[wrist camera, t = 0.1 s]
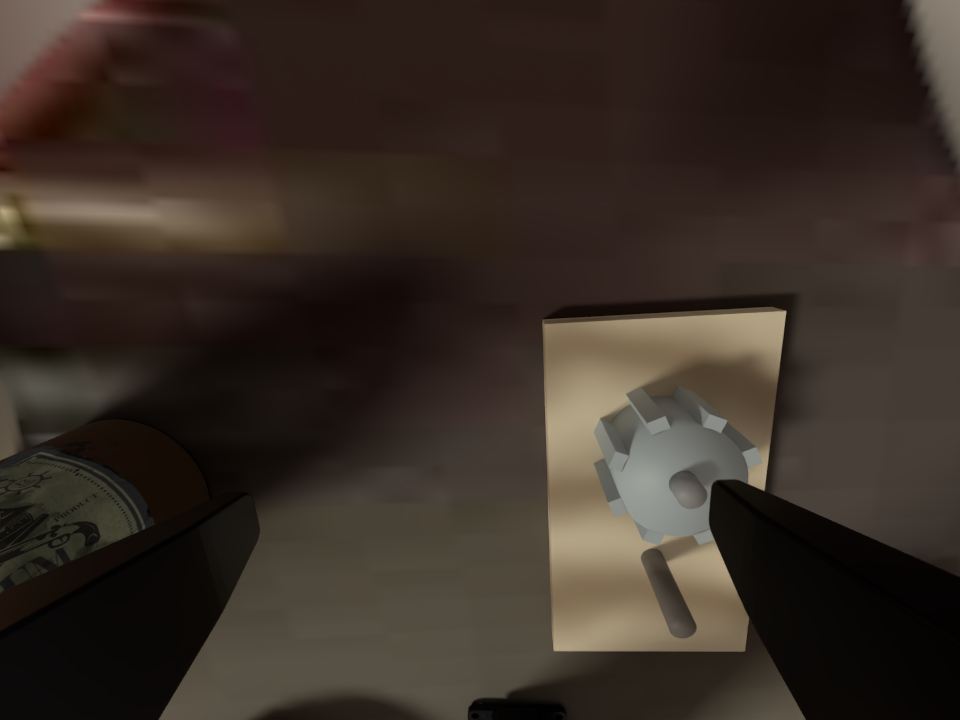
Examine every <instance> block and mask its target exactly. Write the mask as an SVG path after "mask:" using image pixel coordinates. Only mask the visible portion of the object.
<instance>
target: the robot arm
mask: <svg viewBox="0 0 960 720" xmlns="http://www.w3.org/2000/svg"><path fill="white" fill-rule="evenodd" d="M709 527H710V530H711V533H712V535H713V538H714V540H715V542H716V545H717V547H718V549H719V552H720V554H721V556H722V559H723V561H724V563H725V566H726V568H727V570H728V573H729V575H730V577H731V580H732V582H733V584H734V587H735V589H736V591H737V594H738V596H739V598H740V600H741V602H742V605H743V607H744V609H745V611H746V613H747V615H748V617H749V618H750V620H751V622H752V624H753V626H754V628H755V629H756V631H757V633H758V635H759V637H760V638H761V640H762V642H763V644H764V646H765V647H766V649H767V651H768V653H769V655H770V656H771V658H772V660H773V662H774V663H775V665H776V667H777V669H778V671H779V672H780V674H781V676H782V678H783V680H784V681H785V683H786V685H787V687H788V689H789V690H790V692H791V694H792V696H793V697H794V699H795V701H796V703H797V705H798V706H799V708H800V710H801V712H802V714H803V715H804V717H805V719H806V720H960V577H958V576H956V575H954V574H952V573H949V572H947V571H945V570H943V569H940V568H938V567H936V566H933V565H931V564H929V563H927V562H924V561H922V560H920V559H918V558H915V557H913V556H911V555H908V554H906V553H904V552H902V551H899V550H897V549H895V548H893V547H890V546H888V545H886V544H883V543H881V542H879V541H877V540H874V539H872V538H870V537H868V536H865V535H863V534H861V533H859V532H856V531H854V530H852V529H849V528H847V527H845V526H843V525H840V524H838V523H836V522H834V521H831V520H829V519H827V518H824V517H822V516H820V515H818V514H815V513H813V512H811V511H809V510H806V509H804V508H802V507H799V506H797V505H795V504H793V503H790V502H788V501H786V500H784V499H781V498H779V497H777V496H775V495H772V494H770V493H768V492H765V491H763V490H761V489H759V488H756V487H754V486H752V485H750V484H747V483H745V482H743V481H740V480H737V479H720V480H715V481H714V482H713V484H712V486H711V495H710V507H709ZM259 533H260V527H259V522H258V518H257V514H256V510H255V505H254V501H253V498H252V496H251V495H250V494H249V493H247V492H230V493H226V494H224V495H221V496H219V497H217V498H214V499H212V500H210V501H208V502H205V503H203V504H201V505H198V506H196V507H194V508H191V509H189V510H187V511H185V512H182V513H180V514H178V515H175V516H173V517H171V518H169V519H166V520H164V521H162V522H159V523H157V524H155V525H153V526H150V527H148V528H146V529H143V530H141V531H139V532H137V533H134V534H132V535H130V536H127V537H125V538H123V539H121V540H118V541H116V542H114V543H111V544H109V545H107V546H105V547H102V548H100V549H98V550H95V551H93V552H91V553H89V554H86V555H84V556H82V557H79V558H77V559H75V560H73V561H70V562H68V563H66V564H63V565H61V566H59V567H57V568H54V569H52V570H50V571H47V572H45V573H43V574H41V575H38V576H36V577H34V578H31V579H29V580H27V581H25V582H22V583H20V584H18V585H15V586H13V587H11V588H9V589H6V590H4V591H2V592H1V593H0V720H159V718H160V716H161V715H162V713H163V711H164V710H165V708H166V706H167V705H168V703H169V701H170V700H171V698H172V696H173V695H174V693H175V691H176V690H177V688H178V686H179V685H180V683H181V681H182V680H183V678H184V676H185V675H186V673H187V671H188V670H189V668H190V666H191V665H192V663H193V661H194V660H195V658H196V656H197V655H198V653H199V651H200V650H201V648H202V646H203V645H204V643H205V641H206V640H207V638H208V636H209V635H210V633H211V631H212V630H213V628H214V626H215V625H216V623H217V621H218V619H219V618H220V616H221V614H222V612H223V610H224V608H225V606H226V604H227V603H228V601H229V599H230V597H231V594H232V592H233V590H234V588H235V586H236V584H237V582H238V580H239V578H240V576H241V574H242V572H243V570H244V568H245V566H246V563H247V561H248V559H249V557H250V555H251V553H252V551H253V549H254V547H255V545H256V543H257V541H258V538H259ZM468 720H567V715H566V709H565V708H564V707H563V706H559V705H492V704H473V705H471V706H469V708H468Z"/></svg>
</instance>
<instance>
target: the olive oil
mask: <svg viewBox="0 0 960 720" xmlns="http://www.w3.org/2000/svg"><path fill="white" fill-rule="evenodd" d="M208 501H210V498H209V492H208V488H207V485H206V482H205V479H204V477H203V475H202V473H201V471H200V469H199V468H198V466H197V464H196V463H195V462H194V460H193V459H192V458H191V456H190V455H189V454H188V453H187V452H186V451H185V450H184V449H183V448H182V447H181V446H180V445H179V444H178V443H176V442H175V441H174V440H172V439H171V438H170V437H168V436H167V435H165V434H163V433H162V432H160V431H158V430H156V429H154V428H152V427H149V426H147V425H144V424H141V423H138V422H134V421H129V420H120V419H109V420H101V421H97V422H93V423H90V424H87V425H84V426H82V427H79V428H77V429H74V430H72V431H70V432H67V433H65V434H62V435H60V436H58V437H55V438H53V439H51V440H48V441H46V442H43V443H41V444H39V445H36V446H34V447H32V448H29V449H27V450H24V451H22V452H20V453H17V454H15V455H13V456H10V457H8V458H5V459H3V460H1V461H0V593H1V592H2V591H4V590H6V589H9V588H11V587H13V586H15V585H18V584H20V583H22V582H25V581H27V580H29V579H31V578H34V577H36V576H38V575H41V574H43V573H45V572H47V571H50V570H52V569H54V568H57V567H59V566H61V565H63V564H66V563H68V562H70V561H73V560H75V559H77V558H79V557H82V556H84V555H86V554H89V553H91V552H93V551H95V550H98V549H100V548H102V547H105V546H107V545H109V544H111V543H114V542H116V541H118V540H121V539H123V538H125V537H127V536H130V535H132V534H134V533H137V532H139V531H141V530H143V529H146V528H148V527H150V526H153V525H155V524H157V523H159V522H162V521H164V520H166V519H169V518H171V517H173V516H175V515H178V514H180V513H182V512H185V511H187V510H189V509H191V508H194V507H196V506H198V505H201V504H203V503H205V502H208Z"/></svg>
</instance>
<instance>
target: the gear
mask: <svg viewBox="0 0 960 720" xmlns="http://www.w3.org/2000/svg"><path fill="white" fill-rule="evenodd" d="M626 396H627V398H628V401H629V403H630V405H628V406H627V407H625V408H624V409H623V410H622V411H620V412H619V413H618V414H617V415H616V416H615V417H614V419H613V420H612V422H609V421H606V420H603V419H599V421H598V423H597V425H596V428H595V430H594V434H595V437H596V439H597V441H598V444H599V446H600V449H601V451H602V453H603V456H604V459H603V460H600V461H598V462H595V463H594V466H595V469H596V471H597V474H598V477H599V480H600V482H601V485H602V488H603V491H604V493H605V496H606V499H607V501H608V504H609V506H610V508H611V510H612V512H613V514H614V516H615V517H616V516H619V515H621V514H624V513H627V512H628V513H629V514H630V516H631V517H632V518H633V519H634V522H635V524H636V526H637V529H638V531H639V533H640V536H641V538H642V540H643V541H646V542H649V543H652V544H655V545H658V546H659V545H660V543H661V541H662V539H663V538H664V536H665V535H668V536H690V535H694V537H695V539H696V540H697V542H698V544H699V545H701V544H704V543H707V542H710V541H713V540H714V538H713V535H712V533H711V530H710V527H709V507H710V495H711V486H712V484H713V482H714V481H715V480H720V479H737V480H740V481H743V482H745V483H747V484H748V476H749V474H748V468H749V467H752V466H755V465H757V464H760V463H762V461H761V458H760V455H759V453H758V450H757V447H756V446H755V445H754V444H752V443H751V442H750V441H749V440H748V439H747V438H745V437H744V436H743V435H742V434H741V433H740V432H738V431H737V430H736V429H735V428H734V427H733V426H732V425H730V424H729V423H728V422H727V421H728V420H727V419H725V418H724V417H723V416H722V415H721V414H720V413H718V412H717V411H716V410H715V409H714V408H713V407H711V406H710V405H709V404H708V403H707V402H706V401H704V400H703V399H702V398H701V397H700V396H699V395H697V394H696V393H695V392H694V391H692V390H689V389H686V388H683V387H680V386H678V388H677V390H676V392H675V394H674V396H673V397H670V396H654V397H649V396H648V395H647V394H646V393H645V391H644V390H643V389H642V388H639V389H636V390H634V391H632V392H629V393H627V394H626Z"/></svg>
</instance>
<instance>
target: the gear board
mask: <svg viewBox="0 0 960 720" xmlns="http://www.w3.org/2000/svg"><path fill="white" fill-rule="evenodd" d="M785 318H786V311H785V310H781V309H778V308H774V307H758V308H740V309H722V310H704V311H686V312H668V313H650V314H632V315H614V316H596V317H578V318H560V319H542V321H543V353H544V386H545V419H546V452H547V484H548V517H549V550H550V583H551V615H552V638H553V647H554V651H689V652H745V647H746V639H747V630H748V622H749V617H748V615H747V613H746V611H745V609H744V607H743V605H742V602H741V600H740V598H739V596H738V594H737V591H736V589H735V587H734V584H733V582H732V580H731V577H730V575H729V573H728V570H727V568H726V566H725V563H724V561H723V559H722V556H721V554H720V552H719V549H718V547H717V545H716V542H715V540H713V541H710V542H707V543H704V544H701V545H699V544H698V542H697V540H696V539H695V537H694V535H690V536H668V535H665V536H664V538H663V539H662V541H661V543H660V545H659V546H658V545H655V544H652V543H649V542H646V541H643V540H642V538H641V536H640V533H639V531H638V529H637V526H636V524H635V522H634V519H633V518H632V517H631V516H630V514H629V513H628V512H627V513H624V514H621V515H619V516H616V517H615V516H614V514H613V512H612V510H611V508H610V506H609V504H608V501H607V499H606V496H605V493H604V491H603V488H602V485H601V482H600V480H599V477H598V474H597V471H596V469H595V466H594V463H595V462H598V461H600V460H603V459H604V456H603V453H602V451H601V449H600V446H599V444H598V441H597V439H596V437H595V434H594V430H595V428H596V425H597V423H598V421H599V419H603V420H606V421H609V422H612V420H613V419H614V417H615V416H616V415H617V414H618V413H619V412H620V411H622V410H623V409H624V408H625V407H627V406H628V405H630V403H629V401H628V398H627V396H626V394H627V393H629V392H632V391H634V390H636V389H639V388H642V389H643V390H644V391H645V393H646V394H647V395H648V396H649V397H654V396H670V397H673V396H674V394H675V392H676V390H677V388H678V386H680V387H683V388H686V389H689V390H692V391H694V392H695V393H696V394H697V395H699V396H700V397H701V398H702V399H703V400H704V401H706V402H707V403H708V404H709V405H710V406H711V407H713V408H714V409H715V410H716V411H717V412H718V413H720V414H721V415H722V416H723V417H724V418H725V419H727V420H728V421H727V422H728V423H729V424H730V425H732V426H733V427H734V428H735V429H736V430H737V431H738V432H740V433H741V434H742V435H743V436H744V437H745V438H747V439H748V440H749V441H750V442H751V443H752V444H754V445H755V446H756V447H757V450H758V453H759V455H760V458H761V461H762V463H760V464H757V465H755V466H752V467H749V468H748V474H749V476H748V484H750V485H752V486H754V487H756V488H759V489H761V490H763V491H765V482H766V474H767V466H768V458H769V450H770V441H771V433H772V425H773V417H774V408H775V400H776V392H777V384H778V376H779V367H780V359H781V351H782V343H783V335H784V326H785Z"/></svg>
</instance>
